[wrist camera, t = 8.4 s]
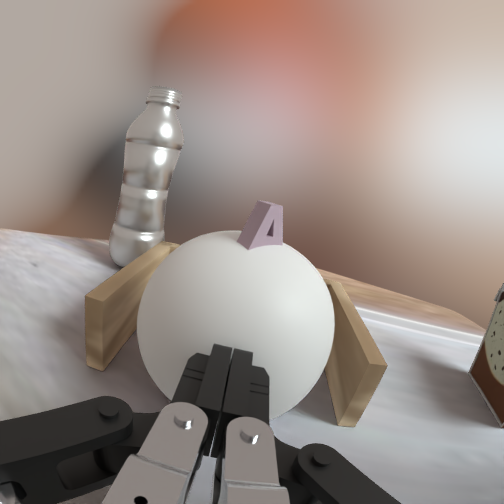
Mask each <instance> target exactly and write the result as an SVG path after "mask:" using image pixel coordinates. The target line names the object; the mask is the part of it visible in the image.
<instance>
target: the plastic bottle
mask: <svg viewBox="0 0 504 504" xmlns="http://www.w3.org/2000/svg"><path fill="white" fill-rule="evenodd" d="M181 97H182V92H180V91H178V90H176V89H172V88H167V87H160V86H159V87H158V86H154V87H151V89H150V91H149V95H148V99H147V100H146V104H148V106H147V108H146V110H145V111H144V112H142V113H141V114H140V115H139V116H138V117H137V118H136V119H135V121H134V122H133V123H132V124H131V125H130V127H129V129H128V131H127V135H126V144H125V160H124V171H123V184H122V187H121V195H120V199H119V205H118V208H117V214H116V218H115V223H114V224H113V227H112V231H111V235H110V239H109V251H110V256H111V258H112V260H113V261H114V263H116V264H117V265H119V266H121V267H125V266H127V265H128V264H129V263H131V262H132V261H134V260H135V259H137V258H138V257H139V256H141V255H142V254H144V253H145V252H147V251H148V250H150V249H151V248H152V247H154V246H155V245H157V244H158V243H160V242H161V241H164V229H163V227H164V218H165V207H166V199H167V195H168V188H169V186H170V182H171V179H172V174H173V171H174V168H175V166H176V163H177V160H178V157H179V155H180V150H181V149H182V146H183V142H184V140H183V139H184V138H183V131H182V128H181V125H180V122H179V120H178V118H177V116H176V109H179V108H180V101H181Z"/></svg>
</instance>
